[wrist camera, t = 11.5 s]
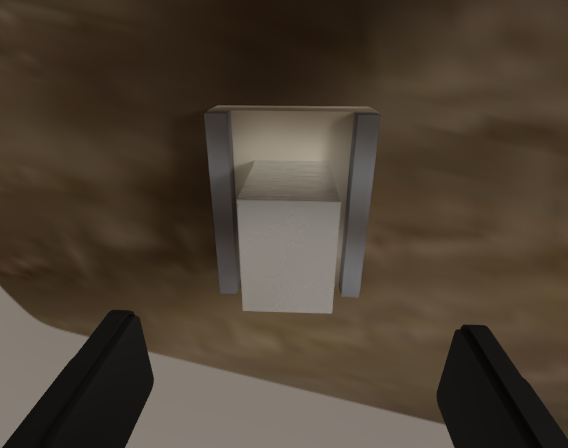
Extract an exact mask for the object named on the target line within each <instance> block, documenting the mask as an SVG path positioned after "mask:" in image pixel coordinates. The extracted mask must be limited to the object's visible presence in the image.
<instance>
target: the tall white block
mask: <svg viewBox="0 0 568 448" xmlns="http://www.w3.org/2000/svg"><path fill="white" fill-rule="evenodd" d="M340 208H341V200H340V197H339V194H338V191H337V188H336V185H335V182H334V178H333V175H332V172H331V169H330V166H329V163H328V161H273V160H255V162H254V164H253V167H252V169H251V171H250V173H249V175H248V177H247V179H246V181H245V184H244V186H243V188H242V190H241V192H240V194H239V196H238V198H237V214H238V232H239V249H240V267H241V284H242V301H243V311H266V312H299V313H332V307H333V294H334V282H335V270H336V258H337V245H338V233H339V221H340Z"/></svg>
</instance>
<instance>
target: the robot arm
mask: <svg viewBox="0 0 568 448" xmlns="http://www.w3.org/2000/svg"><path fill="white" fill-rule="evenodd" d="M153 382H154V377H153V373H152V368H151V364H150V360H149V356H148V352H147V347H146V343H145V339H144V335H143V330H142V326H141V322H140V318H139V317H138V316H135V314H134V312H133V311H126V310H112V311H110V312H109V313H108V314H107V315H106V317H105V318H104V319H103V321H102V322H101V323H100V324H99V326H98V327H97V328H96V330H95V331H94V332H93V334H92V335H91V336H90V337H89V339H88V340H87V341H86V343H85V344H84V345H83V346H82V348H81V349H80V350H79V352H78V353H77V354H76V355H75V357H73V358H72V359H71V360H70V361H69V363H68V364H67V366H65V368H64V369H63V370H62V372H61V373H60V374H59V375H58V377H57V378H56V379H55V381H54V382H53V383H52V385H51V386H50V387H49V388H48V390H47V391H46V392H45V393H44V395H43V396H42V397H41V399H40V400H39V401H38V402H37V404H36V405H35V406H34V408H33V409H32V410H31V411H30V413H29V414H28V415H27V416H26V418H25V419H24V420H23V422H22V423H21V424H20V425H19V427H18V428H17V429H16V431H15V432H14V433H13V434H12V436H11V437H10V438H9V440H8V441H7V442H6V443H5V445H4V446H3V447H2V448H125V446H126V444H127V442H128V440H129V438H130V436H131V433H132V431H133V429H134V427H135V424H136V423H137V420H138V418H139V416H140V414H141V412H142V410H143V408H144V405H145V403H146V401H147V399H148V397H149V395H150V392H151V390H152V387H153ZM437 402H438V406H439V409H440V411H441V414H442V416H443V419H444V422H445V424H446V427H447V429H448V432H449V434H450V437H451V440H452V442H453V445H454V447H455V448H568V439H567V438H566V436H565V435H564V433H563V432H562V430H561V429H560V427H559V426H558V425H557V423H556V422H555V420H554V419H553V417H552V416H551V414H550V413H549V411H548V410H547V409H546V407H545V406H544V404H543V403H542V401H541V400H540V398H539V397H538V396H537V394H536V393H535V391H534V390H533V388H532V387H531V385H530V384H529V383H528V382H527V381H526V380H525V379H524V378H523V377H522V376H521V375H520V373H519V372H518V370H517V369H516V367H515V366H514V365H513V363H512V362H511V360H510V359H509V357H508V356H507V354H506V353H505V351H504V350H503V348H502V347H501V345H500V344H499V343H498V341H497V340H496V338H495V337H494V335H493V334H492V332H491V331H490V329H489V328H488V327H487V326H485V325H463V326H462V327H461V329H460V330H456V331H455V333H454V336H453V340H452V343H451V346H450V350H449V353H448V356H447V360H446V363H445V366H444V370H443V373H442V376H441V380H440V383H439V387H438V390H437Z"/></svg>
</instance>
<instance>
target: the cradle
mask: <svg viewBox="0 0 568 448" xmlns="http://www.w3.org/2000/svg"><path fill="white" fill-rule="evenodd" d="M380 117H381V115H380V114H378V111H376V110H374V109H372V108H370V107H351V106H243V105H218V106H215V107H213V108H211V109H209V110H207V112H206V113H204V120H205V131H206V142H207V153H208V164H209V175H210V186H211V197H212V208H213V219H214V230H215V241H216V253H217V264H218V275H219V286H220V293H222V294H237V293H238V290H239V286H240V282H241V267H240V249H239V232H238V214H237V198H238V196H239V194H240V192H241V190H242V188H243V186H244V184H245V181H246V179H247V177H248V175H249V173H250V171H251V169H252V167H253V164H254V162H255V160H273V161H328V163H329V166H330V169H331V172H332V175H333V178H334V182H335V185H336V188H337V191H338V194H339V197H340V200H341V208H340V221H339V233H338V245H337V258H336V270H335V282H334V284H339V287H340V292H341V297H359V292H360V284H361V276H362V267H363V259H364V251H365V242H366V234H367V226H368V217H369V209H370V201H371V192H372V184H373V176H374V167H375V159H376V151H377V142H378V134H379V126H380Z"/></svg>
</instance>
